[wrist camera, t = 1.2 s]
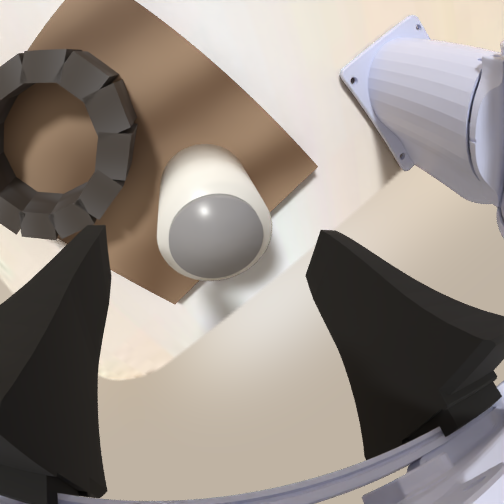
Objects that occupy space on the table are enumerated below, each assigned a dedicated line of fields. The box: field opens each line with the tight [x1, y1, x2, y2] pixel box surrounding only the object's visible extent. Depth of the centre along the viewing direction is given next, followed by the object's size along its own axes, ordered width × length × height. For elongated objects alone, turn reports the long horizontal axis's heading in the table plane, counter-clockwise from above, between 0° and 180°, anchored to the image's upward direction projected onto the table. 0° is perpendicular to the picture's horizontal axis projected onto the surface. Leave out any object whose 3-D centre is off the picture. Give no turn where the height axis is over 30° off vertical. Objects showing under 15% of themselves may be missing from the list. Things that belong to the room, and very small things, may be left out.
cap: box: [157, 144, 272, 281], centre depth 15 cm, size 5×5×6 cm
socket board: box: [0, 0, 318, 304], centre depth 15 cm, size 18×14×4 cm
